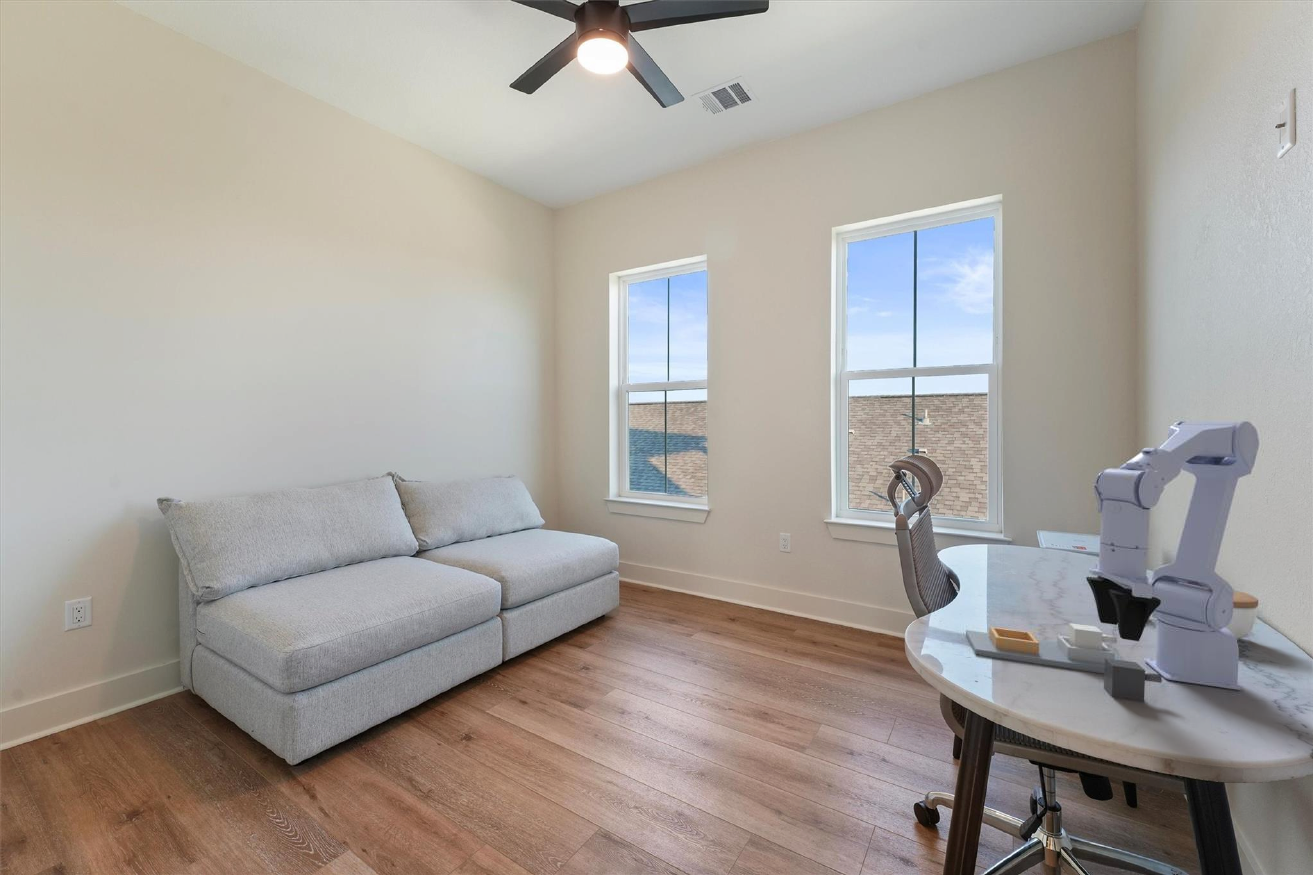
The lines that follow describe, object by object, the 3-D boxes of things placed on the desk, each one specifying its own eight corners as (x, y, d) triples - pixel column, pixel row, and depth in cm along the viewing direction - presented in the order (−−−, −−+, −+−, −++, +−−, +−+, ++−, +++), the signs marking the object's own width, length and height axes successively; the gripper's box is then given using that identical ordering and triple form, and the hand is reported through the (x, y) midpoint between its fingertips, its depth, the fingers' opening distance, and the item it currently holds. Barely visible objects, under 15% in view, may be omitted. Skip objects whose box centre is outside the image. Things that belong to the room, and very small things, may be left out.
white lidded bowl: (1243, 653, 101) (1246, 595, 101) (1157, 630, 112) (1159, 578, 112) (1266, 641, 107) (1268, 586, 107) (1181, 620, 118) (1183, 571, 118)
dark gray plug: (1154, 696, 84) (1155, 664, 84) (1163, 705, 81) (1165, 673, 81) (1103, 688, 86) (1104, 658, 86) (1111, 697, 84) (1112, 665, 83)
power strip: (1113, 655, 99) (1114, 623, 99) (1139, 678, 90) (1140, 643, 90) (965, 634, 108) (966, 605, 108) (975, 654, 99) (976, 622, 98)
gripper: (1075, 534, 92) (1071, 612, 93) (1111, 550, 79) (1106, 642, 79) (1126, 539, 90) (1122, 620, 90) (1172, 556, 76) (1167, 651, 76)
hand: (1118, 631), depth 84 cm, fingers open, 7 cm apart
